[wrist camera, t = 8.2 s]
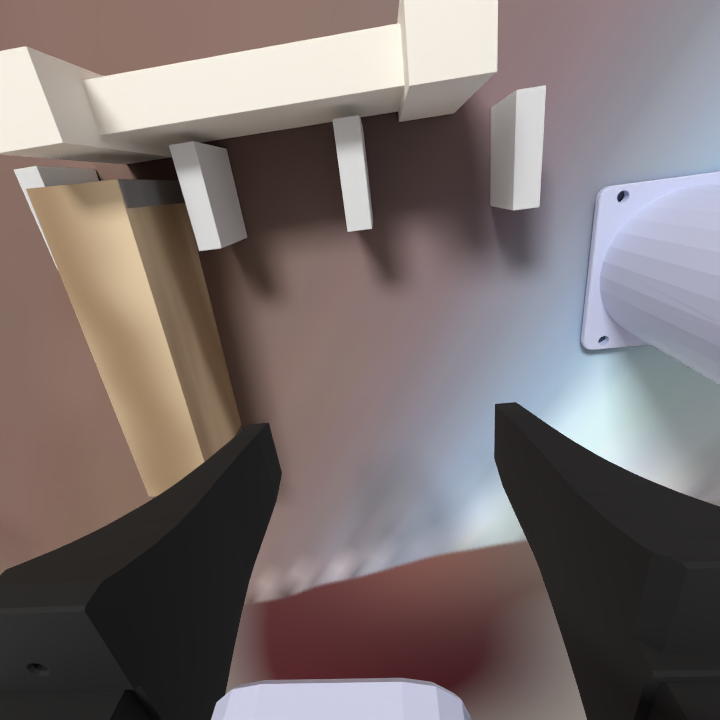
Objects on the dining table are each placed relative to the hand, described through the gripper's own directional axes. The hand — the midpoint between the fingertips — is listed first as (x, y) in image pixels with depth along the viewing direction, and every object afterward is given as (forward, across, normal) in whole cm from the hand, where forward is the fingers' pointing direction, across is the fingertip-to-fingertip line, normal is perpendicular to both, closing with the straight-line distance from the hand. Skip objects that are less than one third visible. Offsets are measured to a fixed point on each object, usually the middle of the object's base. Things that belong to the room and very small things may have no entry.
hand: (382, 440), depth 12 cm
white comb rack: (+10, +3, -9) cm, 14 cm away
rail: (+10, +11, -1) cm, 15 cm away
